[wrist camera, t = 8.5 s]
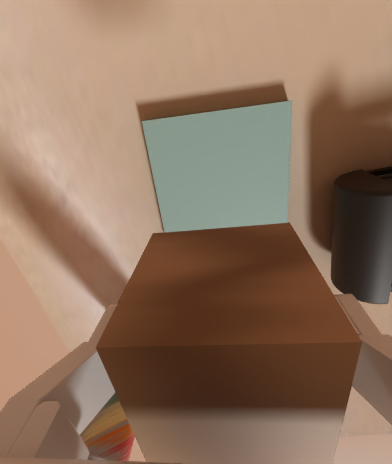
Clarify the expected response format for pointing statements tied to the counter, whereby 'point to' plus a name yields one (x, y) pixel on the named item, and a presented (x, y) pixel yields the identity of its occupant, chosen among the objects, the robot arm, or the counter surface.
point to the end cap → (363, 235)
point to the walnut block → (231, 350)
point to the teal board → (221, 166)
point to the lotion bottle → (109, 433)
